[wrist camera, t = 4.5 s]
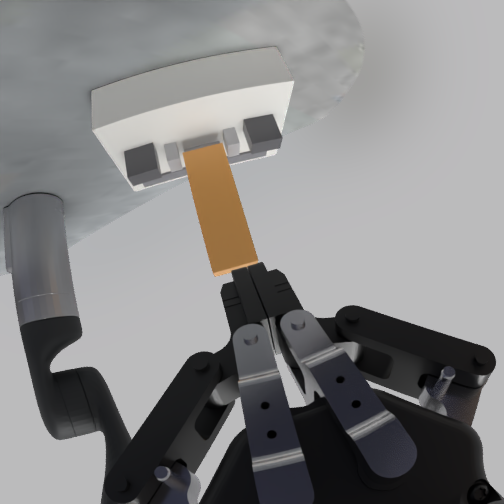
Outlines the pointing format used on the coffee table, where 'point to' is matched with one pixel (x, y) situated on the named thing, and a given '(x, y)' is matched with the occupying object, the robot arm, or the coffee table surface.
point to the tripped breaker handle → (219, 208)
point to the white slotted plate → (193, 113)
